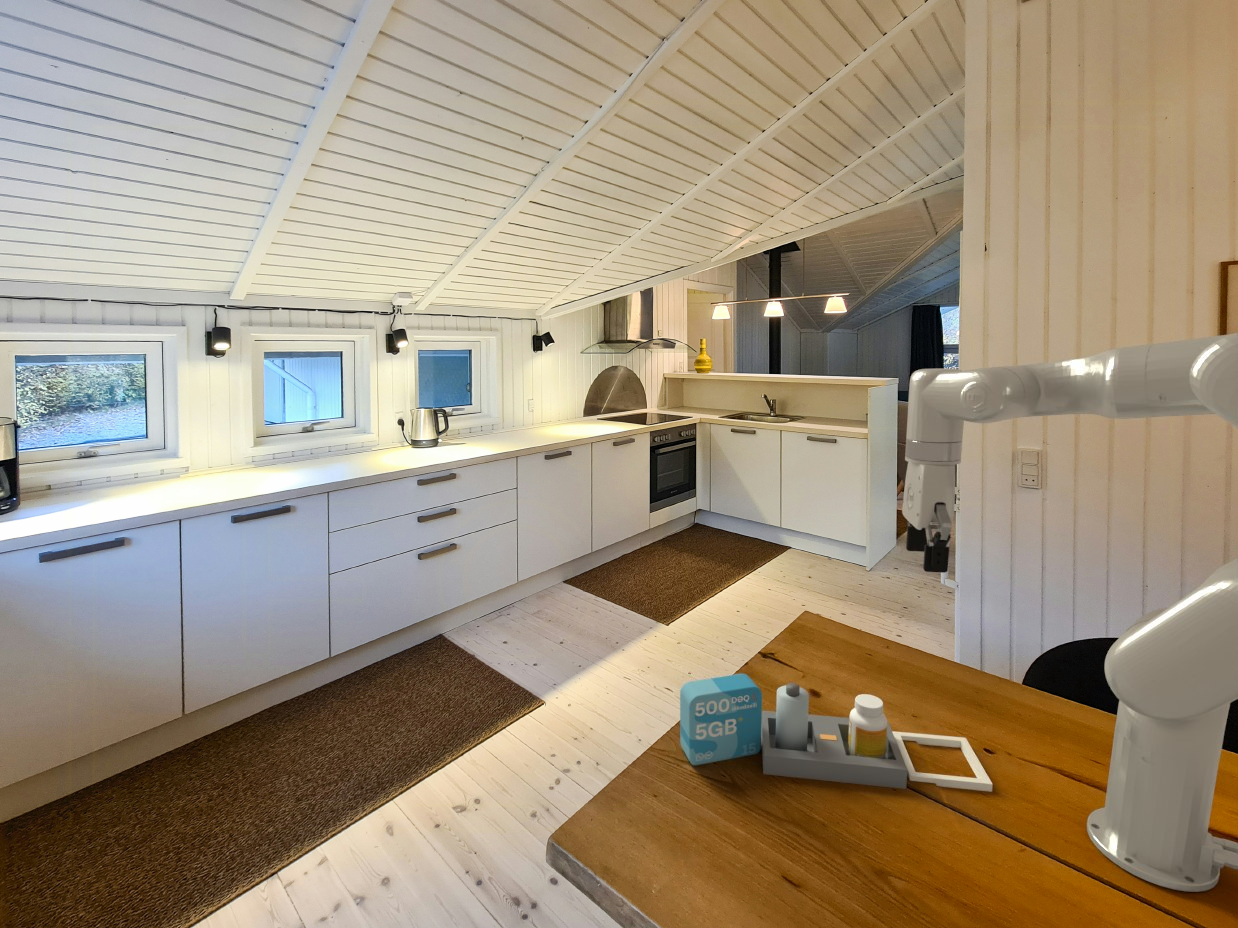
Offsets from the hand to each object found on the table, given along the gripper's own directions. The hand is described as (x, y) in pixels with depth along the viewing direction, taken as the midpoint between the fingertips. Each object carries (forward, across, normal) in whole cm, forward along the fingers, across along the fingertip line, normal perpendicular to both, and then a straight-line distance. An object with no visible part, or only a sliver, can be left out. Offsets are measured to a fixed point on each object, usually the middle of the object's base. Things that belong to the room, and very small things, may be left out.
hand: (925, 560), depth 96 cm
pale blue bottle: (+30, +8, -20) cm, 37 cm away
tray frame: (+30, +6, +2) cm, 31 cm away
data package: (+31, +9, -31) cm, 44 cm away
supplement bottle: (+30, +7, -9) cm, 32 cm away
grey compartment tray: (+30, +8, -14) cm, 34 cm away
